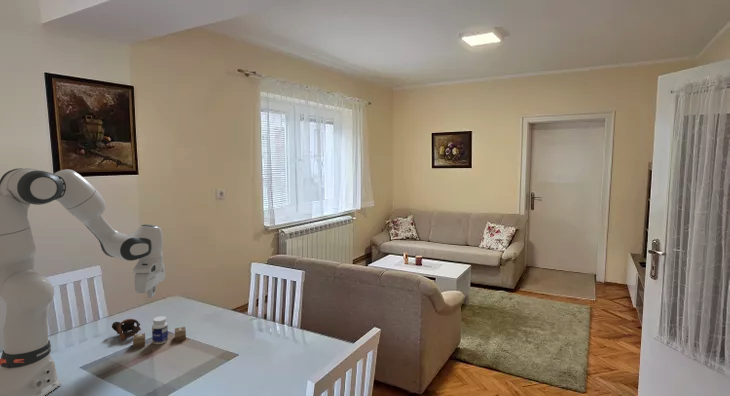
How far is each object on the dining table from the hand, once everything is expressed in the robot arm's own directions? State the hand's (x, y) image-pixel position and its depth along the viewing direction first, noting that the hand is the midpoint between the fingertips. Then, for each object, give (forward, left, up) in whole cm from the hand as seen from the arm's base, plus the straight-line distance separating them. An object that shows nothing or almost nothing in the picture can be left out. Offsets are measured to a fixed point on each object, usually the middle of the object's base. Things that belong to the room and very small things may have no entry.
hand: (151, 296), depth 165 cm
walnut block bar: (+1, -11, -19) cm, 21 cm away
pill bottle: (-2, -4, -19) cm, 19 cm away
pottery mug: (+4, +12, -19) cm, 23 cm away
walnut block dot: (-5, +3, -19) cm, 20 cm away
